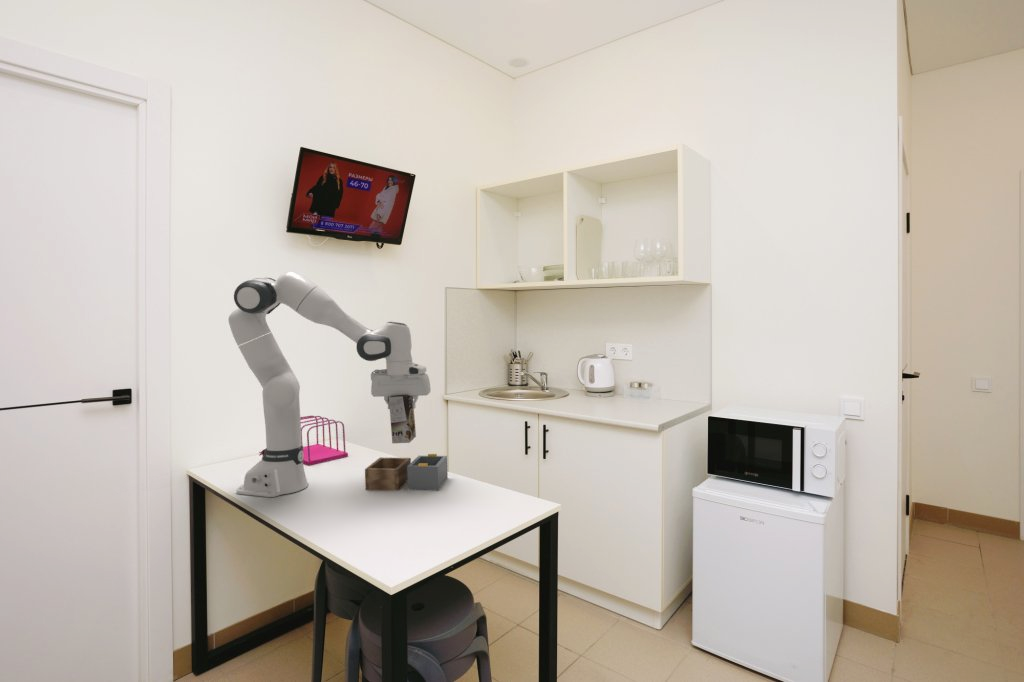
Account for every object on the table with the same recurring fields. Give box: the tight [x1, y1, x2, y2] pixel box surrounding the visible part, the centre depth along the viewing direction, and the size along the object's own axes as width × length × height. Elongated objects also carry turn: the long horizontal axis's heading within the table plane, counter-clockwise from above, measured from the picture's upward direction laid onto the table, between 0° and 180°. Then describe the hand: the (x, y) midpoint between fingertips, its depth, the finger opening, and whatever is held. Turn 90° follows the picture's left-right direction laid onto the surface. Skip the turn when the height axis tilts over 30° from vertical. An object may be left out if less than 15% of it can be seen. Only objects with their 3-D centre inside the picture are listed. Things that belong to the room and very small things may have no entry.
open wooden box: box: [364, 457, 412, 491], centre depth 184 cm, size 11×14×7 cm
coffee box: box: [389, 395, 417, 444], centre depth 183 cm, size 9×6×16 cm
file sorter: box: [300, 415, 349, 466], centre depth 222 cm, size 17×25×16 cm
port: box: [407, 453, 449, 492], centre depth 183 cm, size 10×13×9 cm
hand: (401, 408), depth 183 cm, fingers closed on coffee box, 6 cm apart
